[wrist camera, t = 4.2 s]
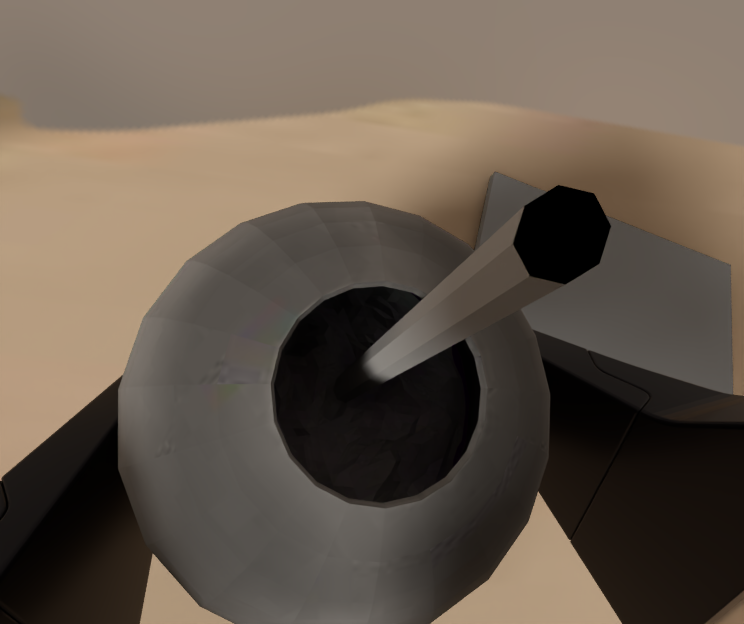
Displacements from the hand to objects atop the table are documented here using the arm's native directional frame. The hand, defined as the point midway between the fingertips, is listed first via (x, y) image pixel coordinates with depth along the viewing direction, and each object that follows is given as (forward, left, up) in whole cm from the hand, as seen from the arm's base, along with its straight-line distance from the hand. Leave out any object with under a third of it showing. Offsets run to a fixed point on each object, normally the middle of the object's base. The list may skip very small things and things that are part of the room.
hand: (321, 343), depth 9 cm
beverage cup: (-1, -1, -10) cm, 10 cm away
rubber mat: (+9, -15, -10) cm, 20 cm away
